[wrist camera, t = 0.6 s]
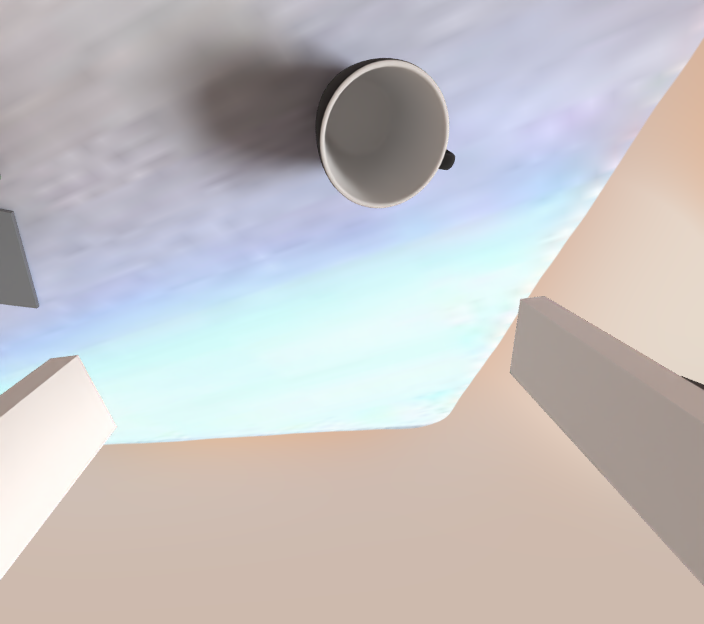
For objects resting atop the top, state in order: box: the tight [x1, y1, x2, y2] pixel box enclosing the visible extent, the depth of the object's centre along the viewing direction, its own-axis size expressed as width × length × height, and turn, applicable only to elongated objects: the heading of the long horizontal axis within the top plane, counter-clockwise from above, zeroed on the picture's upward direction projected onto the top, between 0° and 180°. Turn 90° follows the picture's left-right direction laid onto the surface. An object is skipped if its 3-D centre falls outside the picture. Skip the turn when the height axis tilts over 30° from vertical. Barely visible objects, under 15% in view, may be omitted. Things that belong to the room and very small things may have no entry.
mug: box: [316, 58, 455, 208], centre depth 26 cm, size 12×9×10 cm
